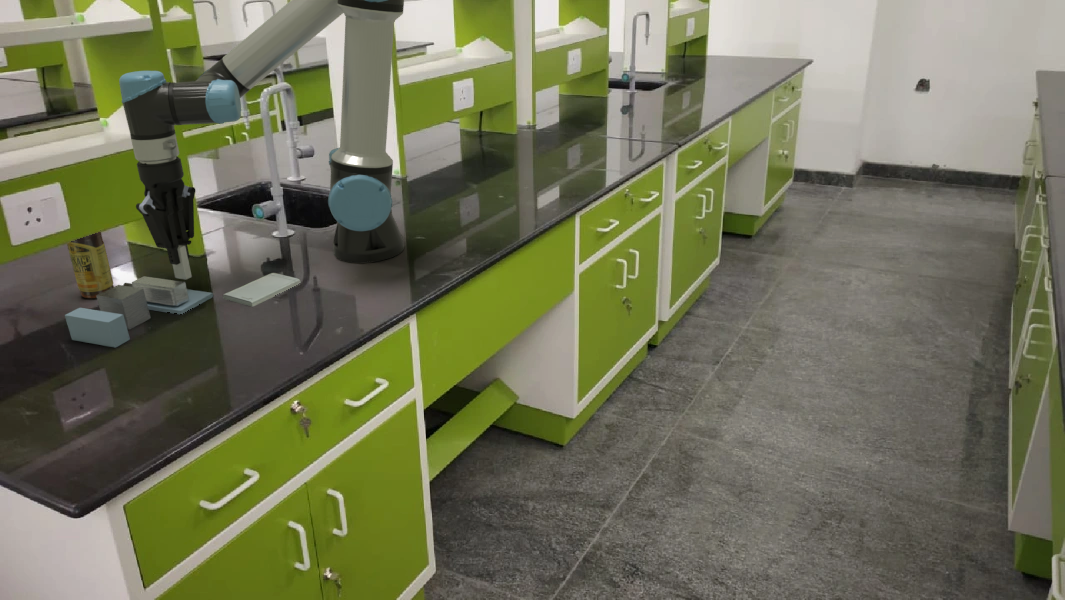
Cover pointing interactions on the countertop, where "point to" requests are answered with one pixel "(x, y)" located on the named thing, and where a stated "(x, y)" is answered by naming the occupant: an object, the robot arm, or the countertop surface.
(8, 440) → the countertop surface
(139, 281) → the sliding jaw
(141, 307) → the steel block
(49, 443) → the countertop surface
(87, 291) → the sauce bottle
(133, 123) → the robot arm
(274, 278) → the hard drive
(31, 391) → the countertop surface
